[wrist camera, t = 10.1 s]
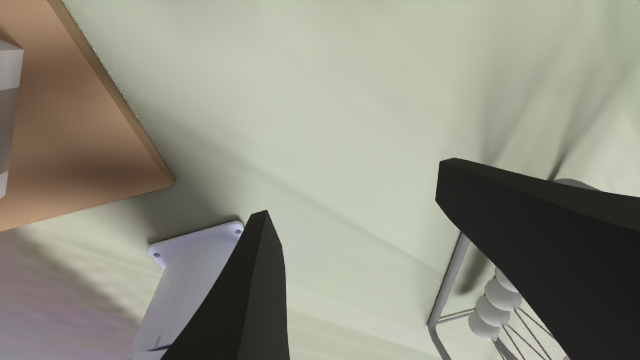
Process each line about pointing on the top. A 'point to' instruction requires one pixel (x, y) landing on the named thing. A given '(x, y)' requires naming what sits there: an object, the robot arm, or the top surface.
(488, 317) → the newton's cradle
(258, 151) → the top surface
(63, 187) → the duct base
